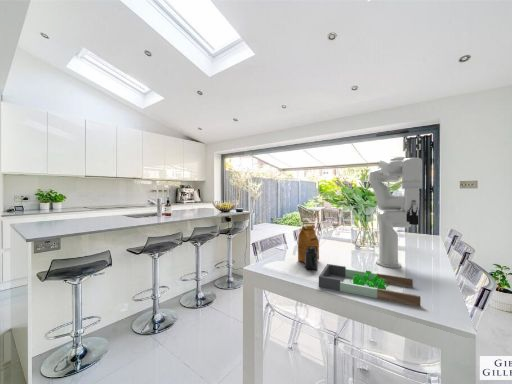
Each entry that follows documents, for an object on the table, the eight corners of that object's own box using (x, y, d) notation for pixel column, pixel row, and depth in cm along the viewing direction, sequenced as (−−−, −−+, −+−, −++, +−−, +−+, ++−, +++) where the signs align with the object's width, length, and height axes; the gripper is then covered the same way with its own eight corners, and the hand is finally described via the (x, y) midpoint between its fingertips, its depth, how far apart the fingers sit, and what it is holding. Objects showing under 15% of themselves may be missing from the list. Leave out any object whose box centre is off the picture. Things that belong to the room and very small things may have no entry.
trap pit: (327, 272, 117) (327, 263, 117) (345, 275, 113) (345, 266, 113) (318, 286, 99) (318, 276, 99) (339, 290, 95) (339, 280, 95)
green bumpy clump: (382, 282, 105) (382, 267, 105) (393, 296, 90) (392, 279, 91) (348, 279, 109) (348, 265, 109) (353, 292, 94) (353, 276, 95)
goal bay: (345, 275, 113) (345, 268, 113) (377, 280, 106) (377, 273, 106) (339, 290, 95) (339, 282, 95) (377, 298, 88) (377, 289, 89)
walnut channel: (377, 280, 106) (377, 273, 106) (412, 286, 100) (412, 278, 100) (377, 298, 88) (377, 289, 89) (420, 306, 82) (420, 297, 82)
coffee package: (321, 261, 137) (321, 225, 137) (307, 265, 129) (307, 227, 130) (309, 257, 145) (309, 223, 145) (295, 260, 138) (295, 225, 138)
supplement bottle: (315, 266, 127) (315, 245, 127) (319, 270, 120) (319, 248, 120) (303, 266, 127) (303, 245, 127) (306, 270, 120) (306, 248, 120)
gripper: (400, 186, 110) (400, 220, 110) (404, 184, 95) (404, 225, 95) (418, 186, 107) (419, 221, 107) (426, 184, 91) (426, 226, 91)
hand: (412, 223), depth 101 cm, fingers open, 9 cm apart
